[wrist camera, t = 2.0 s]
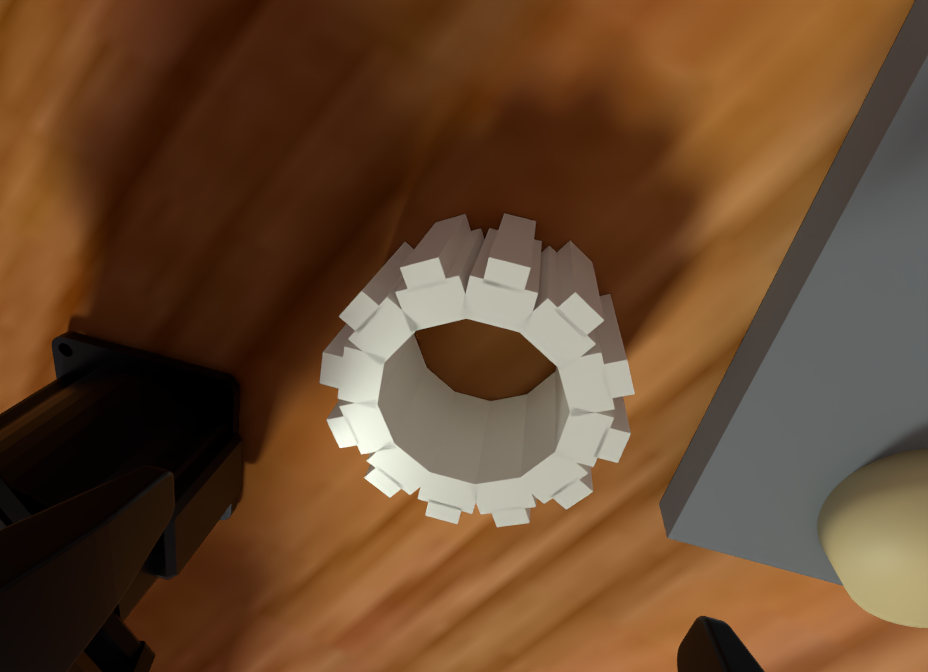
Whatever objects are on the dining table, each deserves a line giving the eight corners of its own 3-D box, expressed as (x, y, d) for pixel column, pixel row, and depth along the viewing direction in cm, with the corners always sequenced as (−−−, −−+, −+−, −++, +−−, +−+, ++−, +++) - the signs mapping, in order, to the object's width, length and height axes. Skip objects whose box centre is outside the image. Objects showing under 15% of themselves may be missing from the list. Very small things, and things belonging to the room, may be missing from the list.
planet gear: (355, 404, 18) (308, 483, 15) (388, 183, 15) (337, 218, 12) (572, 462, 18) (576, 556, 15) (654, 251, 15) (686, 307, 11)
